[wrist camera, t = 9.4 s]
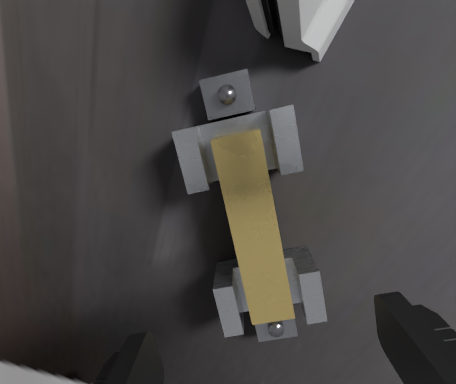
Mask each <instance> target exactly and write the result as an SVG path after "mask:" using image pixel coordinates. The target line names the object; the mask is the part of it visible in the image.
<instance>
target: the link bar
mask: <svg viewBox="0 0 456 384" xmlns="http://www.w3.org/2000/svg"><path fill="white" fill-rule="evenodd" d="M210 142H211V146H212V151H213V155H214V159H215V164H216V168H217V173H218V177H219V181H220V186H221V190H222V195H223V199H224V203H225V208H226V212H227V216H228V221H229V225H230V230H231V234H232V238H233V243H234V247H235V252H236V256H237V260H238V265H239V269H240V274H241V278H242V282H243V287H244V291H245V295H246V300H247V304H248V309H249V313H250V317H251V322H252V325H256V324H263V323H269V322H276V321H282V320H288V319H295V314H294V309H293V304H292V298H291V293H290V287H289V282H288V277H287V271H286V266H285V260H284V255H283V249H282V244H281V239H280V233H279V228H278V222H277V217H276V212H275V206H274V201H273V195H272V190H271V185H270V179H269V174H268V168H267V163H266V157H265V152H264V147H263V141H262V136H261V130H260V129H259V128H252V129H247V130H243V131H238V132H234V133H229V134H224V135H220V136H215V137H213V138H212V139H211V140H210Z"/></svg>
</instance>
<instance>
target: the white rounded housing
mask: <svg viewBox="0 0 456 384" xmlns="http://www.w3.org/2000/svg"><path fill="white" fill-rule="evenodd" d="M353 2H354V0H246V3H247V6H248V9H249V12H250V15H251V18H252V21H253V24H254V27H255V29H256V30H257V31H258V32H259V33H261V34H262V35H263V36H264V37H266V38H267V39H268V38H269V36H270V34H273V35H275V34H276V32H277V30H278V28H279V31H280V36H281V38H282V39H284V45H285V47H288V48H292V49H297V50H301V51H306V52H310V53H311V54H312V58H313V60H314V61H317V62H320V61H321V59H322V57H323V56H324V54H325V52H326V50H327V49H328V47H329V45H330V43H331V41H332V40H333V38H334V36H335V34H336V33H337V31H338V29H339V27H340V25H341V24H342V22H343V20H344V18H345V16H346V15H347V13H348V11H349V9H350V8H351V6H352V4H353Z"/></svg>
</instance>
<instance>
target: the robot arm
mask: <svg viewBox="0 0 456 384" xmlns="http://www.w3.org/2000/svg"><path fill="white" fill-rule="evenodd" d="M374 304H375V314H376V324H377V333H378V337H379V341H380V344H381V346H382V348H383V350H384V352H385V354H386V356H387V357H388V359H389V361H390V362H391V364H392V365H393V367H394V369H395V370H396V372H397V373H398V375H399V377H400V378H401V380H402V381H403V383H404V384H456V332H455V331H454V330H453V329H451V328H450V326H449V325H448V324H447V323H446V322H445V321H444V320H443V319H442V318H441V317H440V316H439V315H438V314H437V313H435V312H433V311H431V310H430V309H428V308H426V307H424V306H422V305H414V306H412V305H411V304H410V303H409V302H408V301H407V299H406V298H405V297H404V296H403V295H402V294H401V293H400V292H391V293H385V294H379V295H375V297H374ZM163 380H164V370H163V364H162V361H161V358H160V355H159V352H158V349H157V346H156V343H155V340H154V337H153V335H152V333H151V332H144V333H138V334H132V335H129V336H128V337H127V339H126V341H125V343H124V345H123V347H122V349H121V351H120V352H116V353H114V354H113V356H112V357H111V358H110V359H109V360H108V361H107V362H106V363H105V364H104V365H103V367H102V369H101V371H100V373H99V375H98V377H97V378H96V382H95V383H94V384H163Z"/></svg>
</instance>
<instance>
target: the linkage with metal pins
mask: <svg viewBox="0 0 456 384" xmlns="http://www.w3.org/2000/svg"><path fill="white" fill-rule="evenodd" d="M199 83H200V87H201V91H202V96H203V100H204V104H205V109H206V113H207V118H208V120H213V119H218V118H222V117H227V116H231V115H235V114H240V113H244V112H249V111H253V110H255V106H254V101H253V96H252V90H251V85H250V80H249V74H248V69H244V70H239V71H235V72H231V73H227V74H223V75H219V76H214V77H210V78H206V79H202V80H199ZM252 128H259V129H260V130H261V136H262V141H263V147H264V152H265V157H266V163H267V168H268V170H271V169H277V170H278V172H279V173H280V175H286V174H291V173H295V172H300V171H304V170H303V163H302V157H301V151H300V144H299V138H298V131H297V125H296V119H295V112H294V106H293V105H289V106H284V107H279V108H275V109H271V110H266V111H262V112H257V113H253V114H248V115H244V116H239V117H235V118H231V119H226V120H222V121H217V122H213V123H208V124H204V125H199V126H195V127H191V128H186V129H182V130H178V131H174V132H172V136H173V140H174V143H175V147H176V151H177V155H178V159H179V163H180V166H181V170H182V174H183V178H184V182H185V186H186V189H187V193H188V194H192V193H197V192H202V191H207V190H209V189H210V187H211V184H212V182H213V181H218V180H219V177H218V173H217V168H216V164H215V159H214V155H213V151H212V146H211V142H210V140H211V139H212V138H213V137H215V136H220V135H224V134H229V133H234V132H238V131H243V130H247V129H252ZM283 255H284V260H285V266H286V271H287V277H288V282H289V287H290V293H291V298H292V304H295V303H301V306H302V309H303V312H304V315H305V318H306V321H307V324H313V323H319V322H326V321H327V316H326V309H325V303H324V297H323V290H322V284H321V278H320V271H319V269H318V267H317V265H316V263H315V262H314V260H313V258H312V256H311V254H310V252H309V250H308V248H307V246H302V247H296V248H291V249H285V250H283ZM213 293H214V297H215V301H216V305H217V308H218V312H219V316H220V320H221V324H222V328H223V331H224V335H225V337H230V336H236V335H243V334H244V315H243V312H246V311H249V309H248V304H247V300H246V295H245V291H244V287H243V282H242V278H241V274H240V269H239V265H238V260H237V258H235V259H230V260H224V261H219V262H217V264H216V271H215V277H214V284H213ZM255 328H256V332H257V336H258V341H259V342H262V341H269V340H275V339H282V338H288V337H295V336H298V334H297V329H296V324H295V319H288V320H282V321H276V322H269V323H263V324H256V325H255Z"/></svg>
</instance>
